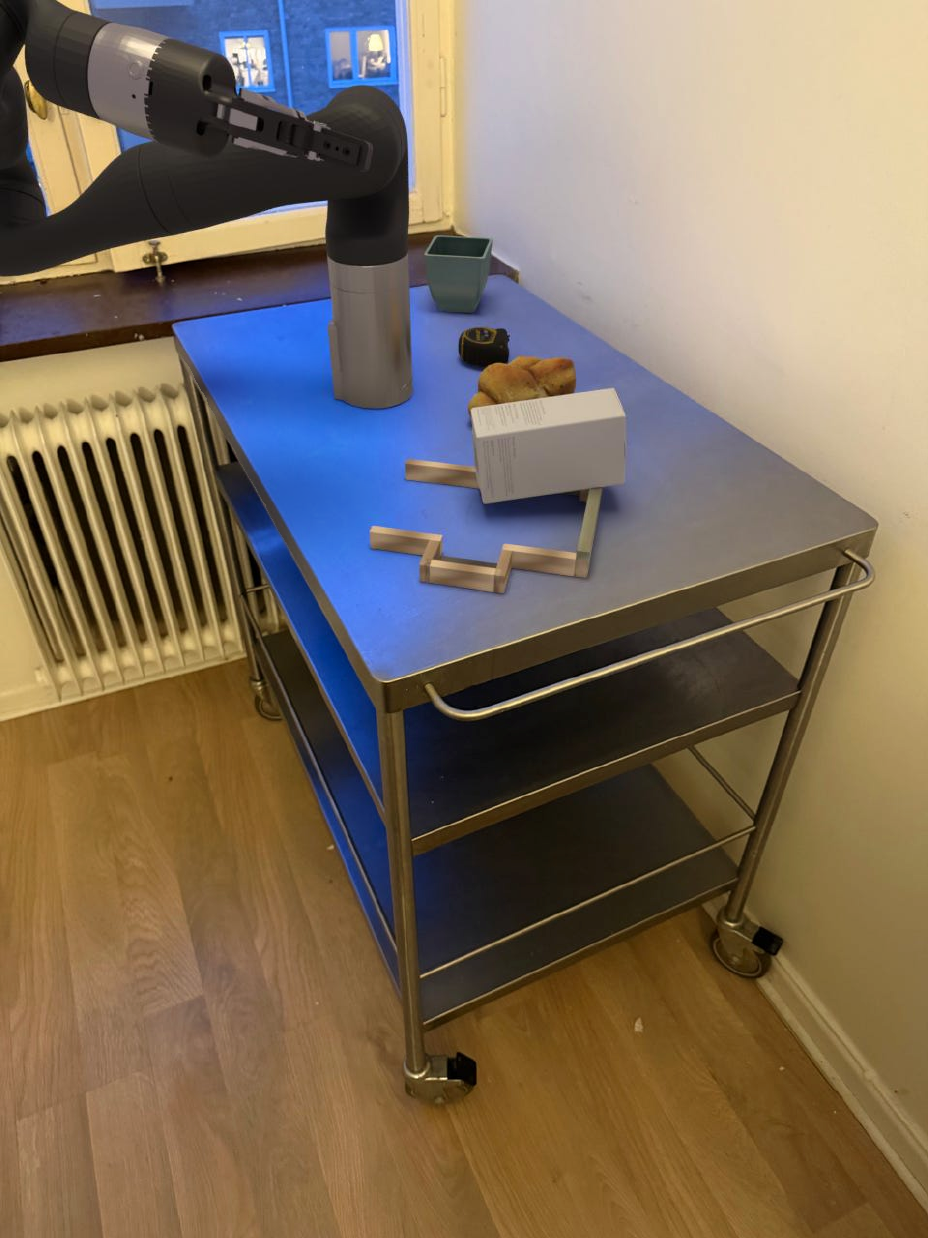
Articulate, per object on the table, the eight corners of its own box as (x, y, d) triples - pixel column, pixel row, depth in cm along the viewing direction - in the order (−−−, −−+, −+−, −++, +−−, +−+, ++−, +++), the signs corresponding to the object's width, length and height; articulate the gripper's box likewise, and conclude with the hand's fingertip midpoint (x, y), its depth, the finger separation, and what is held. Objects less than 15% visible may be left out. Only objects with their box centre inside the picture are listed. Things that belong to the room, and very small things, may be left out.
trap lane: (358, 572, 83) (356, 547, 81) (422, 445, 101) (422, 421, 99) (581, 604, 80) (584, 578, 78) (606, 467, 98) (610, 443, 96)
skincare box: (474, 474, 93) (612, 455, 94) (482, 507, 89) (626, 487, 89) (468, 403, 87) (615, 384, 88) (476, 435, 83) (631, 415, 84)
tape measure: (508, 373, 116) (509, 346, 114) (456, 371, 116) (457, 344, 114) (509, 351, 121) (510, 325, 119) (459, 349, 121) (459, 323, 119)
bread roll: (478, 442, 102) (479, 378, 97) (453, 405, 109) (453, 343, 104) (580, 426, 105) (586, 363, 100) (549, 391, 112) (553, 330, 107)
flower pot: (424, 316, 130) (423, 253, 124) (435, 294, 137) (435, 233, 131) (483, 320, 129) (484, 257, 123) (491, 298, 136) (493, 237, 130)
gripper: (193, 147, 78) (378, 208, 77) (116, 136, 66) (334, 208, 66) (206, 50, 74) (399, 114, 74) (127, 20, 63) (357, 96, 62)
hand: (368, 158), depth 70 cm, fingers closed
